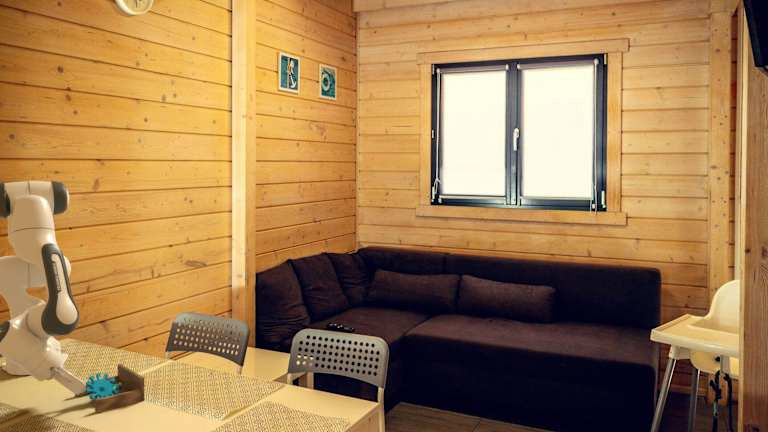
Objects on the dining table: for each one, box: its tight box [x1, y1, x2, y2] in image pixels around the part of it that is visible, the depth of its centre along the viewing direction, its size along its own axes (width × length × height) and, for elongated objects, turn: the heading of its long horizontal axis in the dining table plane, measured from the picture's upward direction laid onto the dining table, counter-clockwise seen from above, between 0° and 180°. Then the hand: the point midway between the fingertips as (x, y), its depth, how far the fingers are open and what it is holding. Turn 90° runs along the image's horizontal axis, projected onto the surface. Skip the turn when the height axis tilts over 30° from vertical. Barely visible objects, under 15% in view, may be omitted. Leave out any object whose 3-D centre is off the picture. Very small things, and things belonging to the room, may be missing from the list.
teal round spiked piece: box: [85, 372, 122, 400], centre depth 195 cm, size 11×6×10 cm
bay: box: [74, 363, 145, 413], centre depth 196 cm, size 14×17×7 cm
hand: (83, 390), depth 190 cm, fingers closed
